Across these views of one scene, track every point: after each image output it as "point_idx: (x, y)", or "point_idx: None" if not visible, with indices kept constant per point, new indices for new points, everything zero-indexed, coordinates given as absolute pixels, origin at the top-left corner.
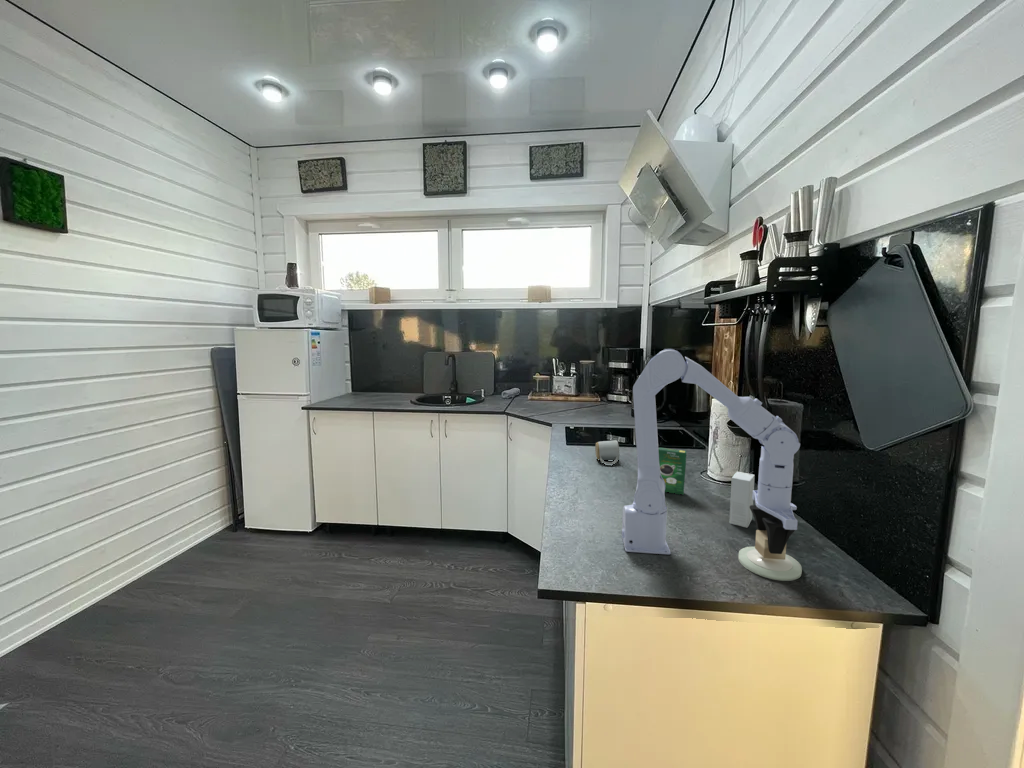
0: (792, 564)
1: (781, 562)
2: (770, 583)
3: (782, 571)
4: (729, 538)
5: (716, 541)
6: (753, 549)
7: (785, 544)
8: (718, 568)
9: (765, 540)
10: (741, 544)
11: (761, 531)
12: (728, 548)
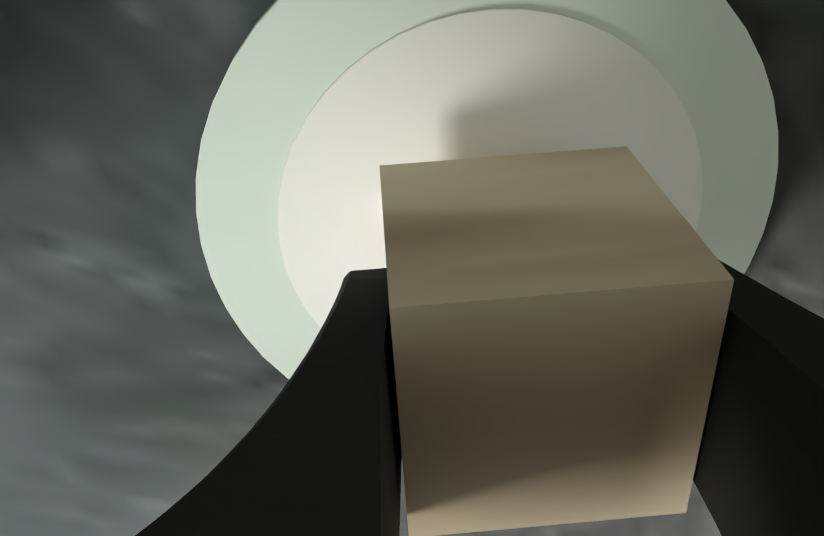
0: (578, 23)
1: (540, 128)
2: (778, 278)
3: (698, 173)
4: (19, 389)
5: (139, 487)
6: (285, 299)
7: (792, 304)
8: (579, 532)
9: (684, 496)
10: (112, 321)
11: (445, 494)
12: (243, 431)
